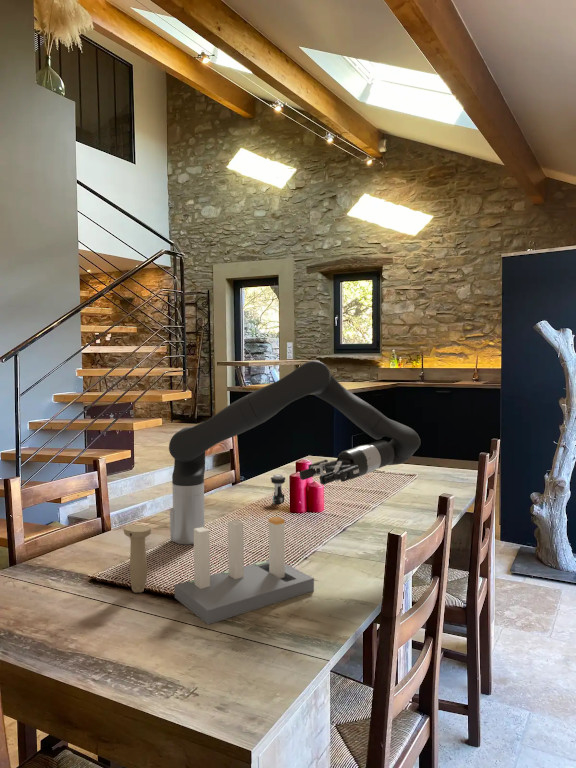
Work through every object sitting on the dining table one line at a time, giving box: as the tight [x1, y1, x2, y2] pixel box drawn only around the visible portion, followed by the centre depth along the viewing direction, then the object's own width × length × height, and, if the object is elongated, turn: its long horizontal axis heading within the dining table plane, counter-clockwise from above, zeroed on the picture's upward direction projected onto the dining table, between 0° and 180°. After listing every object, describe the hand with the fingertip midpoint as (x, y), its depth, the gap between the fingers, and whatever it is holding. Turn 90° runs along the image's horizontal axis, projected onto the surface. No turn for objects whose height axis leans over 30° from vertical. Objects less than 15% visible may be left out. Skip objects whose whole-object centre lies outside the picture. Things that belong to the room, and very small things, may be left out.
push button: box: [270, 473, 286, 505], centre depth 213 cm, size 7×5×10 cm
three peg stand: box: [174, 519, 315, 625], centre depth 135 cm, size 28×16×16 cm, turn 126°
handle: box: [123, 524, 152, 593], centre depth 137 cm, size 5×6×15 cm
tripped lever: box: [268, 516, 286, 579], centre depth 140 cm, size 2×3×14 cm
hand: (310, 478), depth 145 cm, fingers open, 8 cm apart
